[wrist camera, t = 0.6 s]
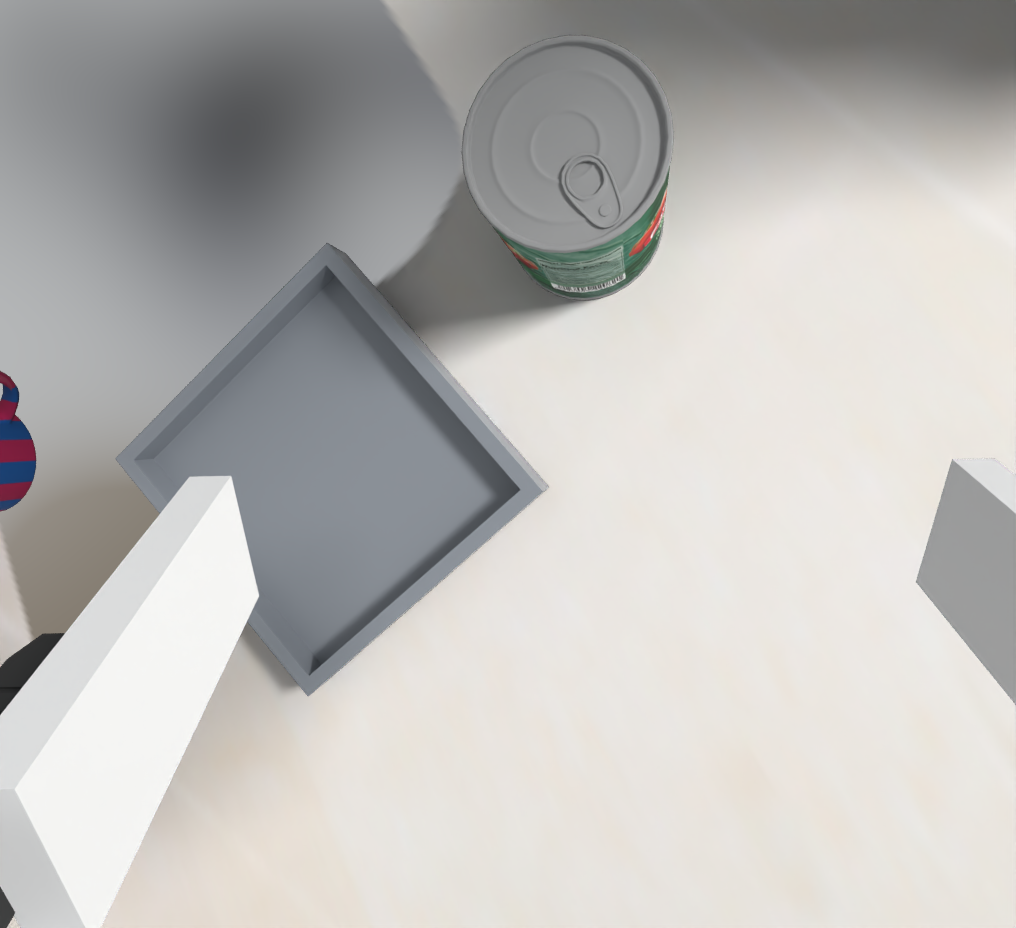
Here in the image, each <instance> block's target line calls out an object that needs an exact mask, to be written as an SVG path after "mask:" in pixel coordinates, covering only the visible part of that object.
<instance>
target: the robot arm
mask: <svg viewBox="0 0 1016 928" xmlns="http://www.w3.org/2000/svg"><path fill="white" fill-rule="evenodd" d="M916 583H917V584H918V585H919V586H920V587H921V589H922V590H923V591H924V592H925V594H926V595H927V596H928V597H929V599H930V600H931V601H932V602H933V604H934V605H935V606H936V607H937V608H938V610H939V611H940V612H941V613H942V615H943V616H944V617H945V618H946V620H947V621H948V622H949V623H950V624H951V626H952V627H953V628H954V629H955V631H956V632H957V633H958V634H959V636H960V637H961V638H962V639H963V640H964V642H965V643H966V644H967V645H968V647H969V648H970V649H971V650H972V652H973V653H974V654H975V655H976V656H977V658H978V659H979V660H980V661H981V663H982V664H983V665H984V666H985V668H986V669H987V670H988V671H989V672H990V674H991V675H992V676H993V677H994V679H995V680H996V681H997V682H998V684H999V685H1000V686H1001V687H1002V688H1003V690H1004V691H1005V692H1006V693H1007V695H1008V696H1009V697H1010V698H1011V700H1012V701H1013V702H1014V703H1015V705H1016V474H1014V473H1013V472H1012V471H1010V470H1009V469H1008V468H1007V467H1005V466H1004V465H1003V464H1001V463H1000V462H999V461H998V460H996V459H995V458H984V459H952V462H951V465H950V468H949V472H948V475H947V479H946V482H945V485H944V489H943V492H942V495H941V499H940V502H939V506H938V509H937V512H936V516H935V519H934V523H933V526H932V529H931V533H930V536H929V539H928V543H927V546H926V550H925V553H924V556H923V560H922V563H921V566H920V570H919V573H918V577H917V580H916ZM258 597H259V593H258V589H257V585H256V580H255V576H254V572H253V567H252V563H251V559H250V554H249V550H248V546H247V542H246V537H245V533H244V529H243V524H242V520H241V516H240V512H239V507H238V503H237V499H236V494H235V490H234V486H233V481H232V477H231V476H198V477H189V478H188V479H187V480H186V482H185V483H184V484H183V486H182V487H181V488H180V489H179V491H178V492H177V493H176V494H175V496H174V497H173V498H172V499H171V501H170V502H169V503H168V504H167V506H166V507H165V508H164V509H163V511H162V512H161V513H160V515H159V516H158V517H157V518H156V520H155V521H154V522H153V523H152V525H151V526H150V527H149V528H148V530H147V531H146V532H145V533H144V535H143V536H142V537H141V538H140V540H139V541H138V542H137V544H136V545H135V546H134V547H133V549H132V550H131V551H130V552H129V554H128V555H127V556H126V557H125V559H124V560H123V561H122V563H121V564H120V565H119V566H118V567H117V569H116V570H115V571H114V573H113V574H112V575H111V576H110V578H109V579H108V580H107V581H106V583H105V584H104V585H103V586H102V588H101V589H100V590H99V591H98V593H97V594H96V595H95V596H94V598H93V599H92V600H91V601H90V603H89V604H88V605H87V607H86V608H85V609H84V610H83V612H82V613H81V614H80V615H79V617H78V618H77V619H76V621H75V622H74V623H73V624H72V625H71V627H70V628H69V629H68V630H67V632H66V633H58V634H56V633H55V634H42V635H41V636H39V637H38V638H36V639H35V640H33V641H32V642H31V643H29V644H28V645H26V646H25V647H23V648H22V649H21V650H19V651H18V652H16V653H15V654H14V655H12V656H11V657H9V658H8V659H7V660H6V661H5V662H4V664H3V665H2V666H1V667H0V928H7V926H8V924H9V923H10V921H11V919H12V918H13V916H14V918H15V919H16V921H17V923H18V924H19V926H20V928H101V926H102V924H103V922H104V920H105V918H106V916H107V914H108V912H109V910H110V907H111V905H112V903H113V901H114V899H115V897H116V895H117V893H118V891H119V889H120V886H121V884H122V882H123V880H124V878H125V876H126V874H127V872H128V870H129V868H130V866H131V863H132V861H133V859H134V857H135V855H136V853H137V851H138V849H139V847H140V845H141V842H142V840H143V838H144V836H145V834H146V832H147V830H148V828H149V826H150V824H151V821H152V819H153V817H154V815H155V813H156V811H157V809H158V807H159V805H160V803H161V801H162V798H163V796H164V794H165V792H166V790H167V788H168V786H169V784H170V782H171V780H172V777H173V775H174V773H175V771H176V769H177V767H178V765H179V763H180V761H181V759H182V756H183V754H184V752H185V750H186V748H187V746H188V744H189V742H190V740H191V738H192V736H193V733H194V731H195V729H196V727H197V725H198V723H199V721H200V719H201V717H202V715H203V712H204V710H205V708H206V706H207V704H208V702H209V700H210V698H211V696H212V694H213V691H214V689H215V687H216V685H217V683H218V681H219V679H220V677H221V675H222V673H223V671H224V668H225V666H226V664H227V662H228V660H229V658H230V656H231V654H232V652H233V650H234V647H235V645H236V643H237V641H238V639H239V637H240V635H241V633H242V631H243V629H244V626H245V624H246V622H247V620H248V618H249V616H250V614H251V612H252V610H253V608H254V606H255V603H256V601H257V599H258Z"/></svg>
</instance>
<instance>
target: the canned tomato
mask: <svg viewBox="0 0 1016 928" xmlns="http://www.w3.org/2000/svg"><path fill="white" fill-rule="evenodd" d="M673 141H674V134H673V123H672V115H671V111H670V108H669V105H668V101H667V98H666V95H665V93H664V91H663V89H662V87H661V86H660V84H659V82H658V80H657V78H656V77H655V75H654V74H653V73H652V72H651V71H650V69H649V68H648V67H647V66H646V65H645V64H644V63H643V61H642V60H640V59H639V58H638V57H636V56H635V55H634V54H632V53H631V52H630V51H628V50H627V49H625V48H624V47H621V46H619V45H617V44H615V43H612V42H610V41H608V40H605V39H601V38H596V37H591V36H586V35H564V36H559V37H555V38H550V39H545V40H542V41H540V42H537V43H535V44H532V45H530V46H528V47H525V48H523V49H522V50H520V51H519V52H517V53H516V54H514V55H513V56H511V57H510V58H508V59H507V60H506V61H505V62H503V63H502V64H501V65H500V66H499V67H498V68H497V69H496V70H495V71H494V72H493V73H492V74H491V75H490V76H489V78H488V79H487V81H486V82H485V83H484V85H483V86H482V88H481V89H480V90H479V92H478V94H477V96H476V98H475V100H474V102H473V104H472V106H471V108H470V110H469V113H468V117H467V121H466V124H465V128H464V132H463V143H462V160H463V170H464V175H465V178H466V182H467V185H468V188H469V192H470V194H471V196H472V198H473V200H474V201H475V203H476V205H477V207H478V209H479V211H480V212H481V213H482V214H483V215H484V217H485V218H486V219H487V220H488V222H489V223H490V224H491V225H492V226H493V228H494V229H495V230H496V232H497V233H498V234H499V236H500V237H501V239H502V240H503V241H504V243H505V244H506V245H507V247H508V248H509V249H510V251H511V252H512V253H513V255H514V256H515V257H516V259H517V260H518V261H519V263H520V264H521V266H522V268H523V269H524V270H525V271H526V273H527V274H528V275H529V276H530V277H531V279H532V280H533V281H535V282H536V283H537V284H538V285H540V286H541V287H542V288H543V289H545V290H547V291H549V292H551V293H553V294H555V295H558V296H561V297H565V298H569V299H577V300H590V299H597V298H602V297H605V296H608V295H611V294H614V293H616V292H618V291H620V290H621V289H623V288H625V287H627V286H628V285H630V284H631V283H632V282H633V281H634V280H635V279H637V278H638V277H639V276H640V275H641V274H642V273H643V271H644V270H645V269H646V268H647V266H648V265H649V264H650V262H651V261H652V259H653V257H654V255H655V253H656V251H657V249H658V246H659V243H660V240H661V237H662V232H663V223H664V210H665V202H666V194H667V185H668V176H669V168H670V163H671V159H672V150H673Z"/></svg>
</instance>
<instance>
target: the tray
mask: <svg viewBox="0 0 1016 928" xmlns="http://www.w3.org/2000/svg"><path fill="white" fill-rule="evenodd" d="M116 460H117V462H118V463H119V464H120V465H121V466H122V468H123V469H124V470H125V471H126V473H127V474H128V475H129V476H130V478H131V479H132V480H133V481H134V483H135V484H136V485H137V486H138V487H139V489H140V490H141V491H142V492H143V494H144V495H145V496H146V497H147V499H148V500H149V501H150V502H151V504H152V505H153V506H154V507H155V508H156V510H157V511H158V512H159V513H161V512H162V511H163V509H164V508H165V507H166V506H167V504H168V503H169V502H170V501H171V499H172V498H173V497H174V496H175V494H176V493H177V492H178V491H179V489H180V488H181V487H182V486H183V484H184V483H185V482H186V480H187V479H188V478H189V477H198V476H231V477H232V481H233V486H234V490H235V494H236V499H237V503H238V507H239V512H240V516H241V520H242V524H243V529H244V533H245V537H246V542H247V546H248V550H249V554H250V559H251V563H252V567H253V572H254V576H255V580H256V585H257V589H258V593H259V597H258V599H257V601H256V603H255V606H254V608H253V610H252V612H251V614H250V616H249V618H248V620H247V622H248V623H249V624H250V626H251V627H252V628H253V629H254V631H255V632H256V633H257V634H258V636H259V637H260V638H261V639H262V640H263V642H264V643H265V644H266V645H267V647H268V648H269V649H270V650H271V652H272V653H273V654H274V655H275V656H276V658H277V659H278V660H279V661H280V663H281V664H282V665H283V666H284V668H285V669H286V670H287V671H288V673H289V674H290V675H291V676H292V677H293V679H294V680H295V681H296V682H297V684H298V685H299V686H300V687H301V689H302V690H303V691H304V692H305V693H306V695H307V696H309V695H311V694H312V693H313V692H314V691H315V690H317V689H318V688H319V687H320V686H322V685H323V684H324V683H325V682H327V681H328V680H329V679H330V678H331V677H332V676H333V675H335V674H336V673H337V672H338V671H339V670H340V669H341V668H343V667H344V666H345V665H346V664H347V663H348V662H350V661H351V660H352V659H353V658H354V657H355V656H356V655H358V654H359V653H360V652H361V651H362V650H363V649H364V648H366V647H367V646H368V645H369V644H370V643H371V642H372V641H374V640H375V639H376V638H377V637H378V636H379V635H380V634H382V633H383V632H384V631H385V630H386V629H387V628H388V627H390V626H391V625H392V624H393V623H394V622H395V621H397V620H398V619H399V618H400V617H401V616H402V615H403V614H405V613H406V612H407V611H408V610H409V609H410V608H411V607H413V606H414V605H415V604H416V603H417V602H418V601H419V600H421V599H422V598H423V597H424V596H425V595H426V594H427V593H429V592H430V591H431V590H432V589H433V588H434V587H435V586H437V585H438V584H439V583H440V582H441V581H442V580H444V579H445V578H446V577H447V576H448V575H449V574H450V573H452V572H453V571H454V570H455V569H456V568H457V567H458V566H460V565H461V564H462V563H463V562H464V561H465V560H466V559H468V558H469V557H470V556H471V555H472V554H473V553H474V552H476V551H477V550H478V549H479V548H480V547H481V546H482V545H484V544H485V543H486V542H487V541H488V540H489V539H491V538H492V537H493V536H494V535H495V534H496V533H497V532H499V531H500V530H501V529H502V528H503V527H504V526H505V525H507V524H508V523H509V522H510V521H511V520H512V519H513V518H515V517H516V516H517V515H518V514H519V513H520V512H521V511H523V510H524V509H525V508H526V507H527V506H528V505H530V504H531V503H532V502H533V501H534V500H535V499H536V498H538V497H539V496H540V495H541V494H542V493H543V492H544V491H546V490H547V489H548V488H549V486H548V485H547V484H546V483H545V482H544V481H543V480H542V478H541V477H540V476H539V475H538V474H537V473H536V471H535V470H534V469H533V468H532V467H531V466H530V465H529V463H528V462H527V461H526V460H525V459H524V458H523V457H522V455H521V454H520V453H519V452H518V451H517V450H516V448H515V447H514V446H513V445H512V444H511V443H510V442H509V440H508V439H507V438H506V437H505V436H504V435H503V434H502V432H501V431H500V430H499V429H498V428H497V427H496V425H495V424H494V423H493V422H492V421H491V420H490V419H489V417H488V416H487V415H486V414H485V413H484V412H483V411H482V409H481V408H480V407H479V406H478V405H477V404H476V402H475V401H474V400H473V399H472V398H471V397H470V396H469V394H468V393H467V392H466V391H465V390H464V389H463V388H462V386H461V385H460V384H459V383H458V382H457V381H456V379H455V378H454V377H453V376H452V375H451V374H450V373H449V371H448V370H447V369H446V368H445V367H444V366H443V365H442V363H441V362H440V361H439V360H438V359H437V358H436V356H435V355H434V354H433V353H432V352H431V351H430V350H429V348H428V347H427V346H426V345H425V344H424V343H423V342H422V340H421V339H420V338H419V337H418V336H417V335H416V334H415V332H414V331H413V330H412V329H411V328H410V327H409V325H408V324H407V323H406V322H405V321H404V320H403V319H402V317H401V316H400V315H399V314H398V313H397V312H396V311H395V309H394V308H393V307H392V306H391V305H390V304H389V302H388V301H387V300H386V299H385V298H384V297H383V296H382V294H381V293H380V292H379V291H378V290H377V289H376V288H375V286H374V285H373V284H372V283H371V282H370V281H369V280H368V279H367V277H366V276H365V275H364V274H363V273H362V271H361V270H360V269H359V268H358V267H357V266H356V265H355V264H354V262H353V261H352V260H351V259H350V258H349V256H348V255H347V254H346V253H343V252H342V251H340V250H339V249H337V248H335V247H333V246H332V245H330V244H328V243H326V245H324V246H323V247H322V248H321V249H320V250H319V252H318V253H317V254H316V255H315V256H314V257H313V258H312V259H311V260H310V261H309V262H308V263H307V264H306V265H305V266H304V267H303V268H302V269H301V270H300V271H299V272H298V273H297V274H296V275H295V276H294V277H293V278H292V279H291V280H290V281H289V282H288V283H287V284H286V285H285V286H284V287H283V288H282V289H281V290H280V291H279V292H278V293H277V294H276V295H275V296H274V297H273V298H272V300H271V301H269V303H268V304H267V305H266V306H265V307H264V308H263V309H262V310H261V311H260V312H259V313H258V314H257V315H256V316H255V317H254V318H253V319H252V320H251V321H250V322H249V323H248V324H247V325H246V326H245V327H244V328H243V329H242V330H241V331H240V332H239V333H238V334H237V335H236V336H235V337H234V338H233V339H232V340H231V341H230V342H229V343H228V344H227V346H225V348H223V349H222V351H220V353H219V354H218V355H217V356H216V357H215V358H214V359H213V360H212V361H211V362H210V363H209V364H208V365H207V366H206V367H205V368H204V369H203V370H202V371H201V372H200V373H199V374H198V375H197V376H196V377H195V378H194V379H193V380H192V381H191V382H190V383H189V384H188V385H187V386H186V387H185V388H184V389H183V390H182V391H181V392H180V393H179V394H178V395H177V396H176V398H174V399H173V400H172V401H171V402H170V403H169V404H168V406H167V407H166V408H165V409H164V410H163V411H162V412H161V413H160V414H159V415H158V416H157V417H156V418H155V419H154V420H153V421H152V422H151V423H150V424H149V425H148V426H147V427H146V428H145V429H144V430H143V431H142V432H141V433H140V434H139V435H138V436H137V437H136V438H135V439H134V440H133V441H132V442H131V443H130V444H129V445H128V446H127V447H126V448H125V449H124V450H123V451H122V452H121V454H119V455H118V456H117V457H116Z"/></svg>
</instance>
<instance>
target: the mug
mask: <svg viewBox="0 0 1016 928" xmlns="http://www.w3.org/2000/svg"><path fill="white" fill-rule="evenodd" d="M0 383H2V384H3V395H2V398H1V401H0V511H4V510H7V509H9V508H11V507H13V506H14V505H16V504H17V503H18V502H19V501H20V500H21V499H22V498H23V497H24V496H25V495H26V493H27V491H28V490H29V488H30V486H31V484H32V481H33V479H34V474H35V469H36V453H35V447H34V443H33V440H32V438H31V435H30V433H29V431H28V430H27V428H26V427H25V425H24V424H23V422H22V421H21V420H20V419H19V418H18V417H17V416H16V415H15V412H16V409H17V406H18V402H19V391H18V388H17V386H16V385H15V383H14V382H13V381H12V379H11V378H10V377H9V376H8V375H6V374H5V373H3V372H1V371H0Z"/></svg>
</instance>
